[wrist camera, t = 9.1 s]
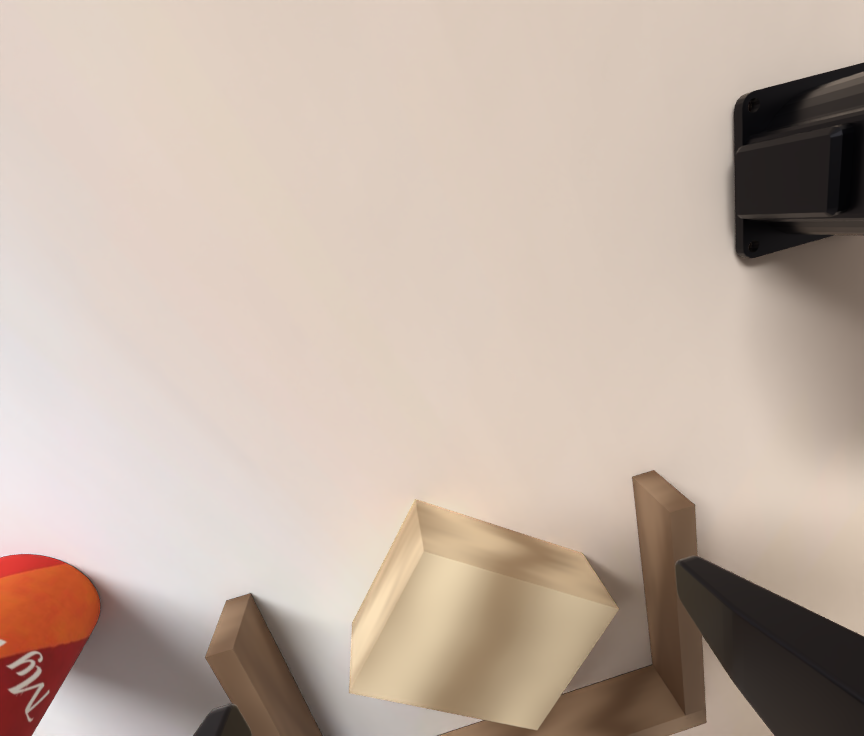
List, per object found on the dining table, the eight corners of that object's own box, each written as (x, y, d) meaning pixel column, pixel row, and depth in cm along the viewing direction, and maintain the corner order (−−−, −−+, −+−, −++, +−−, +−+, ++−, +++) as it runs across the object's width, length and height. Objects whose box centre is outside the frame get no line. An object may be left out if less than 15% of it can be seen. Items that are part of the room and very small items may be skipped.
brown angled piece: (653, 470, 23) (694, 504, 20) (671, 672, 28) (706, 722, 25) (226, 600, 22) (204, 657, 19) (325, 786, 27) (320, 854, 24)
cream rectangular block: (579, 549, 24) (619, 609, 20) (512, 657, 26) (537, 730, 22) (414, 494, 22) (424, 551, 18) (352, 618, 23) (348, 692, 20)
